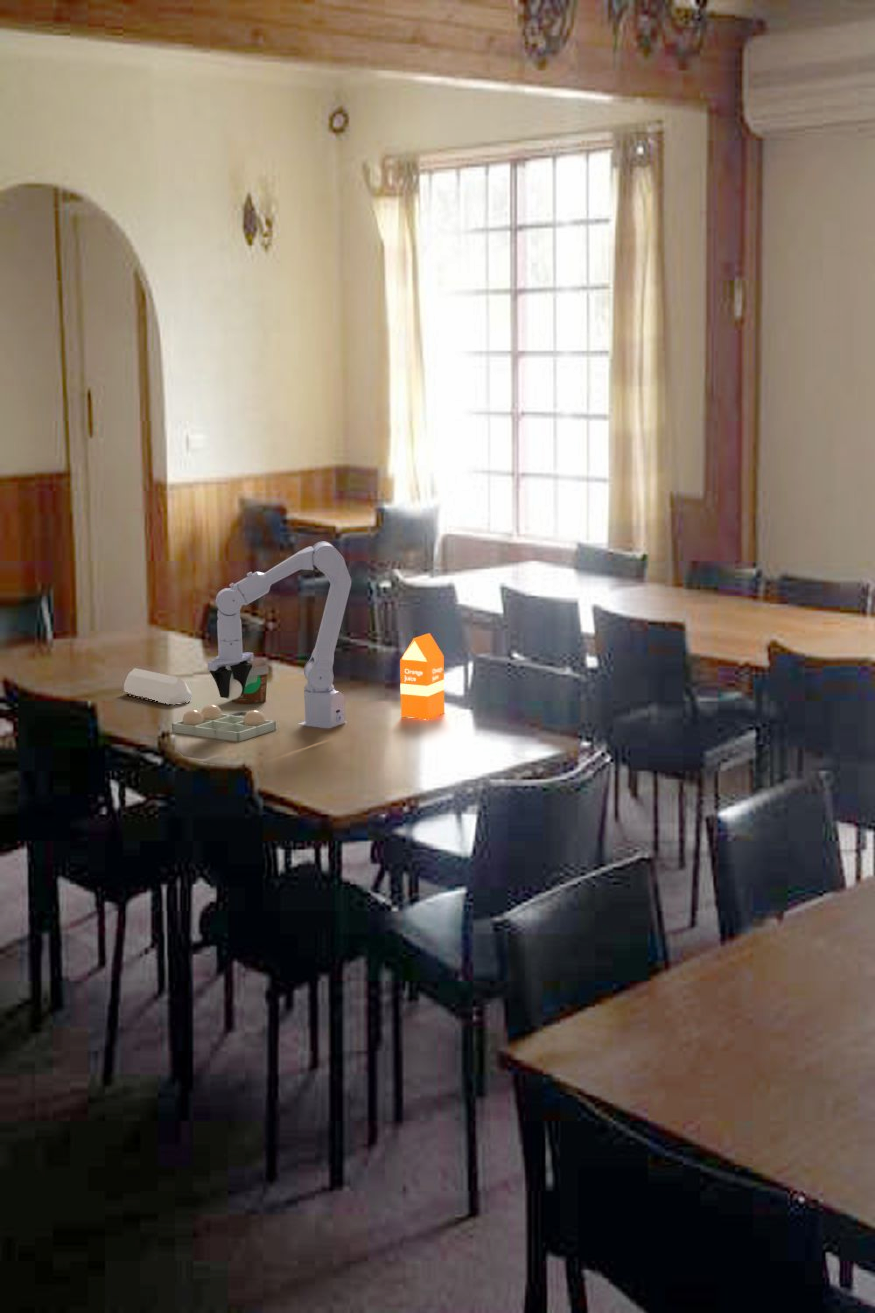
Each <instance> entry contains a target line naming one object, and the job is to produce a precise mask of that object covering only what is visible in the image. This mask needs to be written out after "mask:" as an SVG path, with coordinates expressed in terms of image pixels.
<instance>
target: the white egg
mask: <svg viewBox="0 0 875 1313" xmlns="http://www.w3.org/2000/svg"><path fill="white" fill-rule="evenodd" d="M241 693H242V685H241V684H240V682H239V681H238V680H236V679H230V689H229V698H226V699H227V700H230V701H232V700H234V699H237V698H238V697H239V696H240V695H241Z"/></svg>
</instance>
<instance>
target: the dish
mask: <svg viewBox="0 0 875 1313" xmlns="http://www.w3.org/2000/svg"><path fill="white" fill-rule="evenodd" d="M247 712H248V711H238V712H233V713H231V714H229V715H233V716H241V715H243V716H245V715H246V713H247Z"/></svg>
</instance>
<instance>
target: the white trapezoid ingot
mask: <svg viewBox="0 0 875 1313" xmlns="http://www.w3.org/2000/svg"><path fill="white" fill-rule="evenodd" d="M189 688H190V687H188V685H187V683H186V681H184V680H183V679H182V678H180V677H177V676H174V675H169V674H163V673H159V672H154V671H150V670H145V669H140V668H136V667H134V668H133V669H132V670H130V672H129V673H128V674H127V677H126V678H125V681H124V684H123V692H124V691H125V692H128V693H131V694H134V695H136V696H143V697H147V698H149V699H152V700H155V701H154V702H156V701H158V702H157V703H162V704H165V703H166V705H169V704H177V703H185V702H188V701H190V702H191V701H192V700H193V699H192V698H193V696H192V692H191V690H190V689H189ZM152 700H151V701H152ZM185 704H186V703H185Z"/></svg>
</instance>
